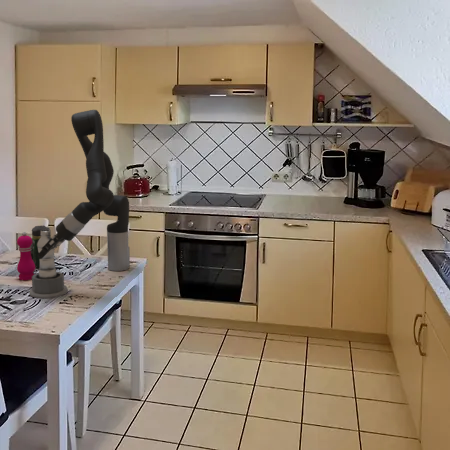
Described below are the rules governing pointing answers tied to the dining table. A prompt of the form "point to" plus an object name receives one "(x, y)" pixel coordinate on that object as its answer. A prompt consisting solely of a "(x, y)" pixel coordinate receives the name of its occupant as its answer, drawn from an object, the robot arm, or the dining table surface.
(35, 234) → the coffee jar
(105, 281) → the dining table surface
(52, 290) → the bottle holder
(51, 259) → the plastic bottle
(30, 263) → the pepper mill
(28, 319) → the dining table surface
